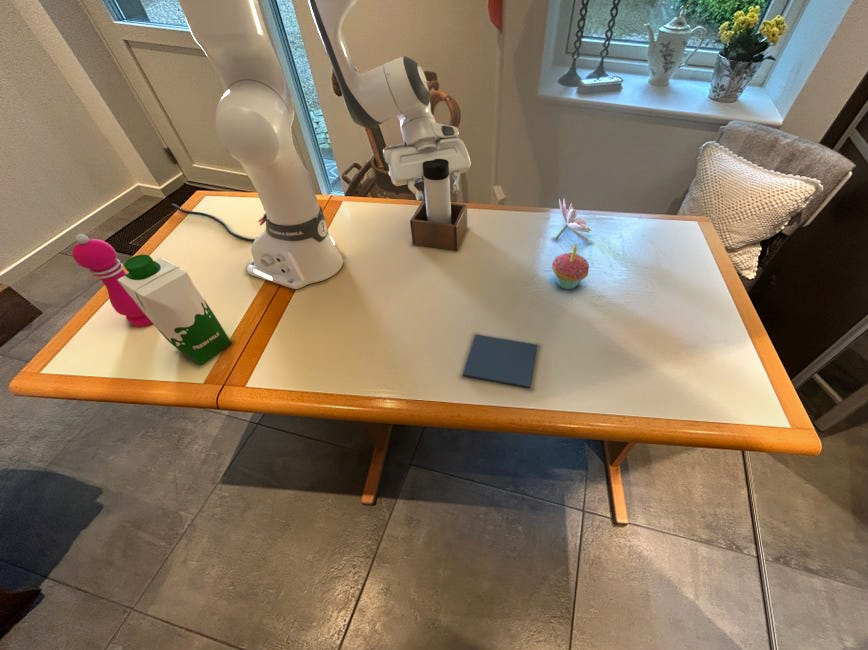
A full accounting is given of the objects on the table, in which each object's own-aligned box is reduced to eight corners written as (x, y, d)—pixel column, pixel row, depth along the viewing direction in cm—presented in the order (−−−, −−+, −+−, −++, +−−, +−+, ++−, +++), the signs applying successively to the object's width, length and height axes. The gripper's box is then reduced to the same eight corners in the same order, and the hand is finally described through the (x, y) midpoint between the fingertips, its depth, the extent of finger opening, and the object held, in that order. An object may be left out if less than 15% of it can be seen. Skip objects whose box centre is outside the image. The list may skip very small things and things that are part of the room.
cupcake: (584, 296, 93) (596, 252, 84) (547, 291, 94) (555, 247, 85) (585, 274, 98) (596, 230, 89) (550, 269, 99) (558, 225, 90)
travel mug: (434, 245, 105) (428, 168, 90) (425, 233, 109) (417, 157, 94) (456, 239, 107) (453, 163, 92) (446, 227, 111) (442, 152, 96)
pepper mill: (174, 310, 88) (111, 228, 73) (146, 332, 84) (74, 249, 68) (148, 302, 89) (82, 220, 74) (119, 323, 85) (43, 241, 70)
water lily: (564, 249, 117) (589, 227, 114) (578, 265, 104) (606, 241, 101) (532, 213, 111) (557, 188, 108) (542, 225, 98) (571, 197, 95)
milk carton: (211, 326, 85) (155, 244, 70) (239, 342, 82) (186, 261, 67) (172, 351, 80) (102, 270, 65) (200, 370, 77) (133, 289, 62)
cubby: (412, 244, 106) (409, 220, 100) (425, 222, 113) (423, 199, 107) (457, 251, 104) (456, 226, 99) (467, 228, 111) (466, 204, 106)
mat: (462, 376, 77) (462, 374, 77) (475, 336, 84) (475, 334, 84) (529, 388, 75) (530, 386, 75) (536, 346, 82) (537, 344, 82)
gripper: (381, 139, 92) (399, 199, 93) (463, 126, 97) (479, 183, 99) (379, 152, 98) (397, 208, 99) (457, 139, 103) (472, 192, 105)
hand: (438, 196), depth 99 cm, fingers open, 8 cm apart
